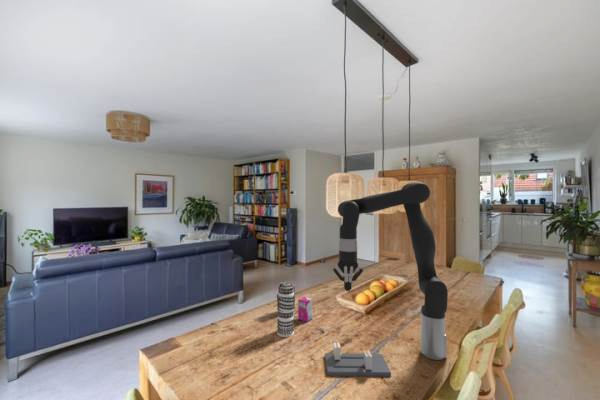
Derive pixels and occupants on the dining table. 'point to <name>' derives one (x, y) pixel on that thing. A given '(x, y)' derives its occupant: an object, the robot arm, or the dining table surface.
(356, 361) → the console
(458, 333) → the dining table surface
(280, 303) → the decorative candle
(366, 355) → the grey fader
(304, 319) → the supplement box
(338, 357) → the white fader
